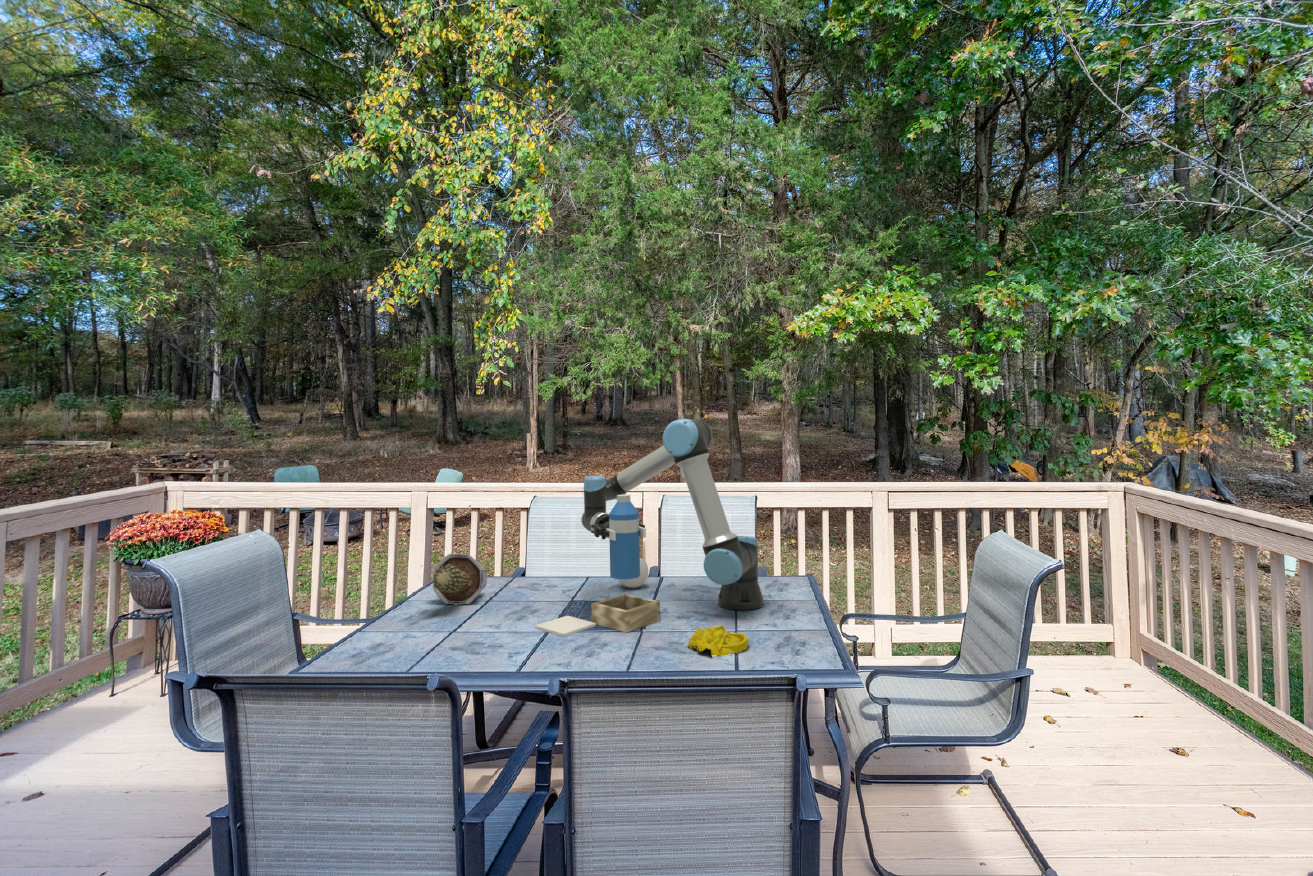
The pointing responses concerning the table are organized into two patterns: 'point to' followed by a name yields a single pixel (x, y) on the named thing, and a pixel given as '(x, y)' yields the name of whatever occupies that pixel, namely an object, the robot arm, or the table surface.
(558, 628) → the plate
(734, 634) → the door knocker
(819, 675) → the table surface
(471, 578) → the potted plant
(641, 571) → the decorative ball
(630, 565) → the water bottle
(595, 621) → the holder collar
